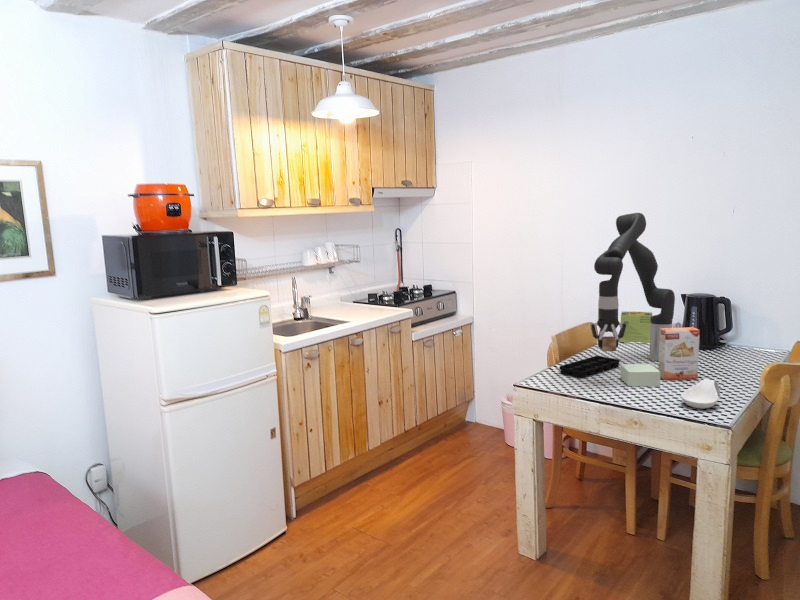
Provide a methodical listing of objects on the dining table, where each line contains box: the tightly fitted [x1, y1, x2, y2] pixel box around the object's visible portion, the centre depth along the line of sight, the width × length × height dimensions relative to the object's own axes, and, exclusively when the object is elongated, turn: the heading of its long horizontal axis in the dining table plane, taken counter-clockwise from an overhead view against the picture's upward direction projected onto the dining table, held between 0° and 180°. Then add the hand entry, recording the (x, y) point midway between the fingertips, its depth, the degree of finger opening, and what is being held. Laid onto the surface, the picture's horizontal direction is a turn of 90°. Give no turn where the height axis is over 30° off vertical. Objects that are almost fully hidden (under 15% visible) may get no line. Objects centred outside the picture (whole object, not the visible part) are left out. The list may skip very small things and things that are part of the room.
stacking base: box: [620, 363, 661, 388], centre depth 232 cm, size 12×12×6 cm
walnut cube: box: [600, 335, 617, 353], centre depth 231 cm, size 5×5×5 cm
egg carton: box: [559, 355, 621, 379], centre depth 253 cm, size 18×30×4 cm, turn 138°
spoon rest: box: [680, 378, 721, 410], centre depth 206 cm, size 24×12×7 cm, turn 138°
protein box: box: [619, 310, 653, 343], centre depth 303 cm, size 10×15×16 cm
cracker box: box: [657, 326, 701, 381], centre depth 235 cm, size 14×6×21 cm, turn 90°
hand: (607, 348), depth 231 cm, fingers closed on walnut cube, 5 cm apart
